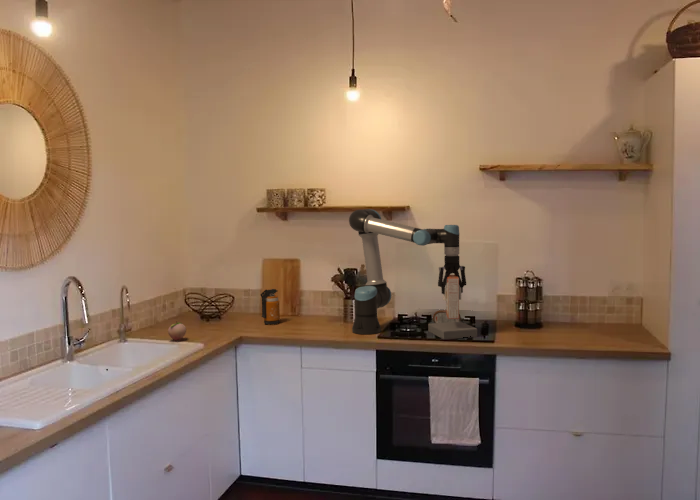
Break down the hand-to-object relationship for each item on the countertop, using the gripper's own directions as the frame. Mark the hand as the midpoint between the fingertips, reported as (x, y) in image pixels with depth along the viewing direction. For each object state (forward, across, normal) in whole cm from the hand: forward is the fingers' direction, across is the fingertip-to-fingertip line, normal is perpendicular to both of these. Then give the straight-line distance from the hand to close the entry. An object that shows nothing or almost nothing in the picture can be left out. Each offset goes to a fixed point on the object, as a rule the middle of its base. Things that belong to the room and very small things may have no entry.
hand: (452, 299), depth 299 cm
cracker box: (+9, 0, 0) cm, 9 cm away
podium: (+18, 0, 0) cm, 18 cm away
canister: (+18, -86, +58) cm, 105 cm away
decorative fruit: (+18, -136, +31) cm, 141 cm away
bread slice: (+18, +6, +20) cm, 28 cm away
